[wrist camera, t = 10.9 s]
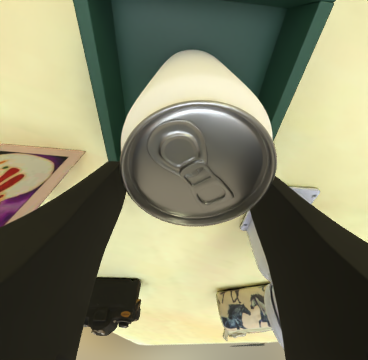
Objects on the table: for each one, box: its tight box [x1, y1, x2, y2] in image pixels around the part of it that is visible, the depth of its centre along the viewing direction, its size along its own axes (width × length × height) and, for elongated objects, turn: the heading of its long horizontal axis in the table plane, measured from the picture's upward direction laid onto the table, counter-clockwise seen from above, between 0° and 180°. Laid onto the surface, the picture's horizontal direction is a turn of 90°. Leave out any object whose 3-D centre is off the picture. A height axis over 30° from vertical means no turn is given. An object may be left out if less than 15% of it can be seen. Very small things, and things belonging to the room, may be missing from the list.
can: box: [120, 50, 277, 226], centre depth 11 cm, size 6×6×12 cm
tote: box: [73, 0, 336, 162], centre depth 15 cm, size 14×14×5 cm
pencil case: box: [216, 285, 272, 341], centre depth 41 cm, size 22×8×10 cm, turn 111°
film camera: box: [83, 278, 141, 336], centre depth 41 cm, size 18×12×10 cm
